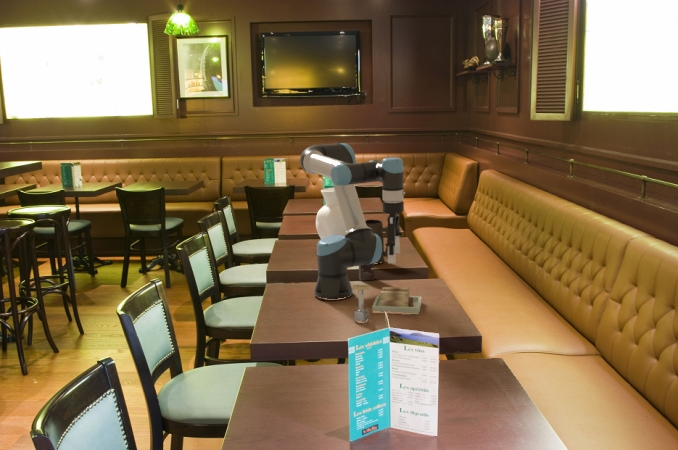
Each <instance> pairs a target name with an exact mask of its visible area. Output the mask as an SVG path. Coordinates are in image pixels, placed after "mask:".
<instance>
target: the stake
mask: <svg viewBox="0 0 678 450" xmlns="http://www.w3.org/2000/svg"><path fill="white" fill-rule="evenodd" d="M351 287H352V291H353V290H357V291H358V298H357V299H358V309H356V310H355V311H354V321H355V320H357V321H362V322H365V321H366V320H367V319H368V318H370V317H369V309H365V299H364V298H365V297H364V291H368V290H369V289H370V285H368V284H367V285H366V284H353V285H351Z"/></svg>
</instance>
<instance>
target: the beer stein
mask: <svg viewBox="0 0 678 450" xmlns="http://www.w3.org/2000/svg"><path fill="white" fill-rule="evenodd" d="M365 222H366V225H367V226H368V227H370V228H371V229H372V232H373V234H377V235H378V236H379V237H380V239H381V242H382V253H381V257H380V259H379V260H378V261H377V262H376V263H380V262H383V261H384V262H385V258H384V257H386V258H388V246H386V245H385V244H384V243H385V242H384V233H386V235H387V234H388V225H387V226H385V227H383V226H384V224H383V221H382V220H379V219H365ZM384 262H383V263H384Z"/></svg>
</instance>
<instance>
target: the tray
mask: <svg viewBox="0 0 678 450" xmlns="http://www.w3.org/2000/svg"><path fill="white" fill-rule="evenodd" d="M409 297H413V307H397V306H381V294H380V295H379V294H378V295H376V297H375V299H374V301H373V304H372V306H371V312H372V311H380V312H384V311H386V312H388V311H390V312H403V313H416V314H419V315H420V313H419V312H421V308H422V304H421V303H422V300H423V299H422V296H417V295H415V296H414V295H409ZM420 307H421V308H420ZM383 315H389V314H388V313H387V314H385V313H384V314H383Z"/></svg>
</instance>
